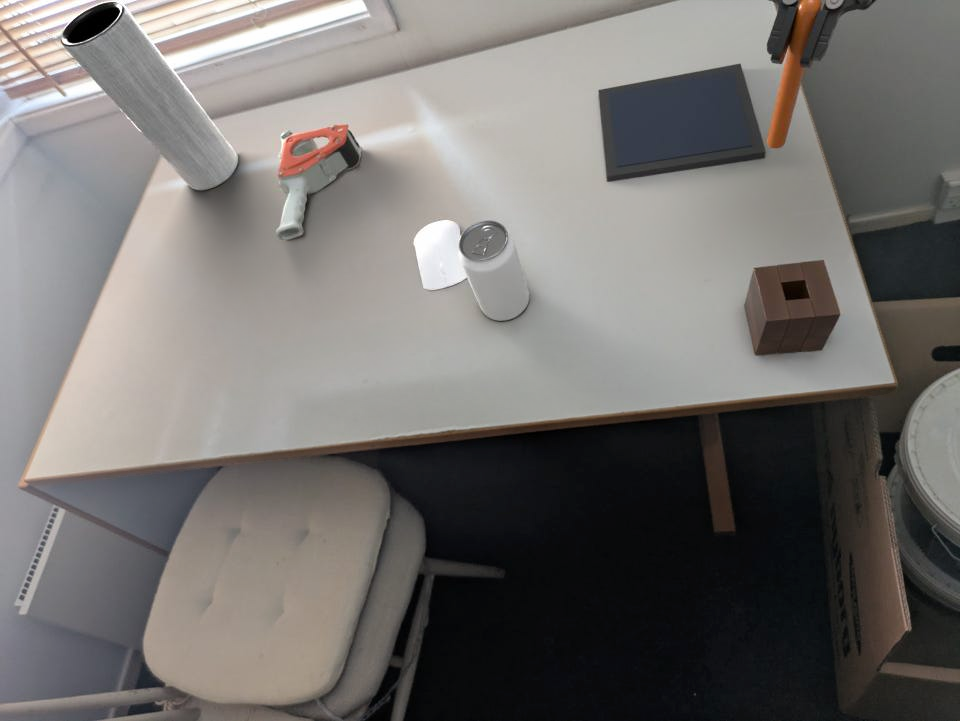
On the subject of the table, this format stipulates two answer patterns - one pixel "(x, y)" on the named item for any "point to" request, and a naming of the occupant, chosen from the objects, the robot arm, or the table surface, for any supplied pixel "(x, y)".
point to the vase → (149, 93)
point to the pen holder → (791, 308)
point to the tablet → (679, 123)
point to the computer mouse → (439, 255)
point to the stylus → (792, 73)
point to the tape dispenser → (311, 169)
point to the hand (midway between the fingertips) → (790, 63)
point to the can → (494, 270)
